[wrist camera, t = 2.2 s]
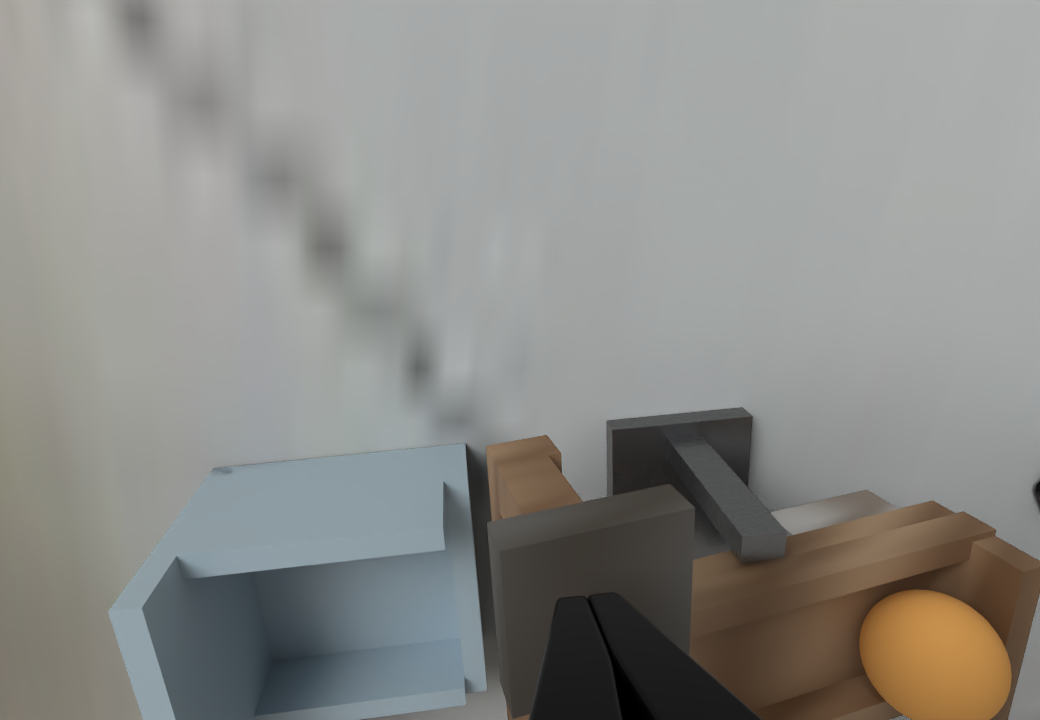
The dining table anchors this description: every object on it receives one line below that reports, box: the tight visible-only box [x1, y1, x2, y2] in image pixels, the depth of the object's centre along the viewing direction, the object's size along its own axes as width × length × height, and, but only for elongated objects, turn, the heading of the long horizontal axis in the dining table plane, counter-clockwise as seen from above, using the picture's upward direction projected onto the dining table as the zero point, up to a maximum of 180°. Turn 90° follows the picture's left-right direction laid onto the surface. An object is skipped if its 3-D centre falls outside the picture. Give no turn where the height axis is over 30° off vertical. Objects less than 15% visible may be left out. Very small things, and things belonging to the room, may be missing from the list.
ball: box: [859, 589, 1012, 720], centre depth 17 cm, size 4×4×4 cm
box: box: [108, 444, 487, 720], centre depth 20 cm, size 8×8×7 cm
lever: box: [486, 435, 1040, 720], centre depth 16 cm, size 15×11×7 cm
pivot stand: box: [607, 408, 787, 563], centre depth 21 cm, size 5×9×7 cm, turn 3°
